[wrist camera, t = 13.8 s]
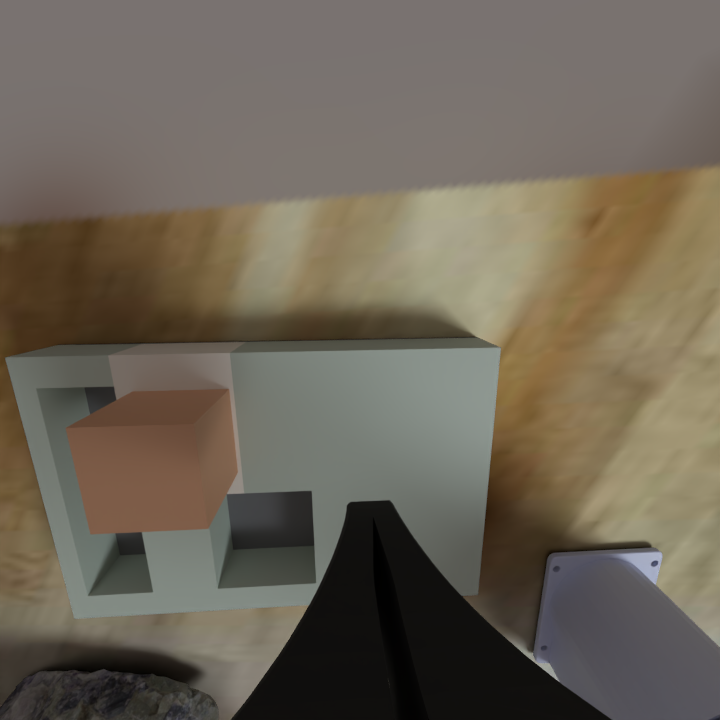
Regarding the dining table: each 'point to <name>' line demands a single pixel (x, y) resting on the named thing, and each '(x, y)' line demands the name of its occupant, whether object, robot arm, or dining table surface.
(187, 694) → the mineral rock
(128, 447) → the terracotta block
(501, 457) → the dining table surface
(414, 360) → the board
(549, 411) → the dining table surface
